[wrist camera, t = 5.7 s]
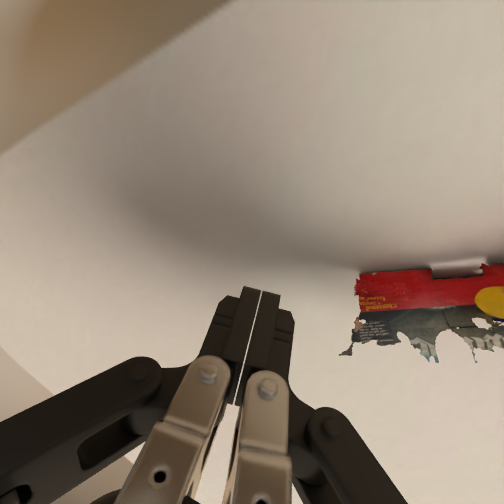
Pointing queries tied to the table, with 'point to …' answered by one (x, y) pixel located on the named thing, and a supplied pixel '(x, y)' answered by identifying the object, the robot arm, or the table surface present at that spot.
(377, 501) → the robot arm
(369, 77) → the table surface
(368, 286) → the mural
